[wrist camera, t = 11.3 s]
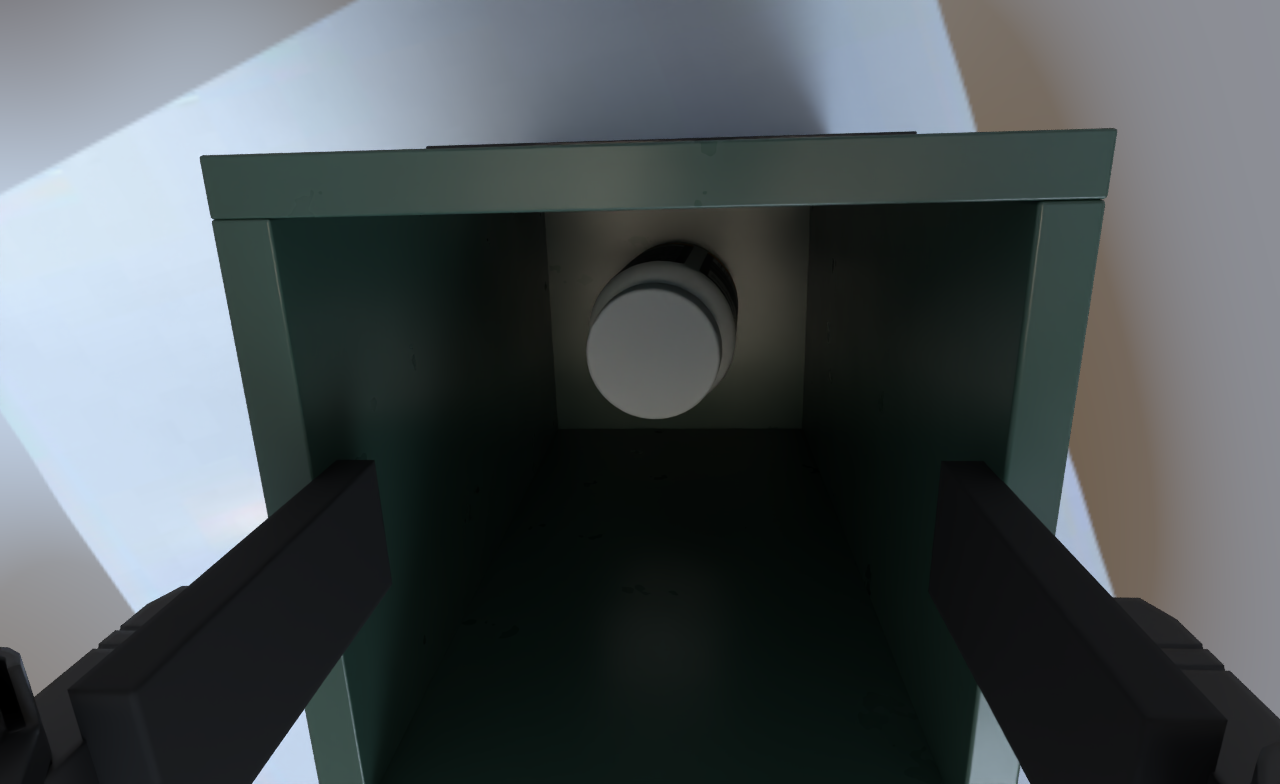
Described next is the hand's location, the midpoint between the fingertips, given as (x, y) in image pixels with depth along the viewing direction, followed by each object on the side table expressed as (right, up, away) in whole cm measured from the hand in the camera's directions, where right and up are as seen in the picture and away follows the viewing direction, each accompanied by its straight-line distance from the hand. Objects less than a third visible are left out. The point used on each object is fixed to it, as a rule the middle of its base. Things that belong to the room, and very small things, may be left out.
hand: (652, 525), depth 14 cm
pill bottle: (+2, +7, +21) cm, 22 cm away
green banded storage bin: (+2, +7, +22) cm, 23 cm away
